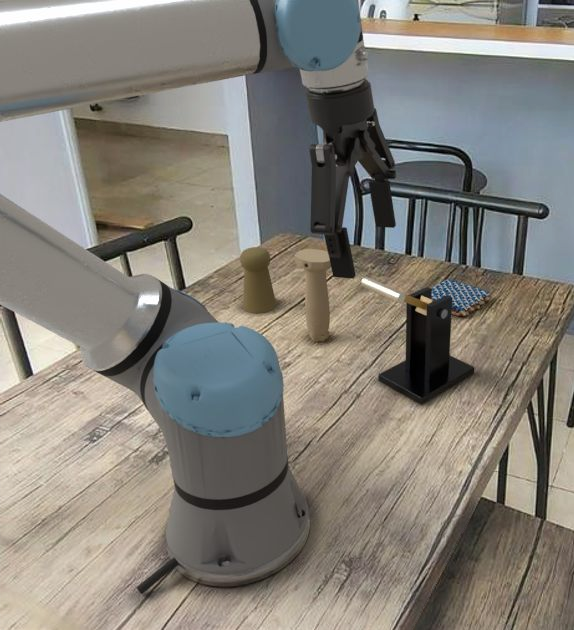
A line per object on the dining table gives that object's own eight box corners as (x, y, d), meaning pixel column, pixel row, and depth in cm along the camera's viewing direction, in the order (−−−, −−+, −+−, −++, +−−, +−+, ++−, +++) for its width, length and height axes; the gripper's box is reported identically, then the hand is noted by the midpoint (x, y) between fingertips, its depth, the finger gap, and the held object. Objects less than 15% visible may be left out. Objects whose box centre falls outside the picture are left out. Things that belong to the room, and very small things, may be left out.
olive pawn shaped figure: (283, 303, 125) (279, 248, 120) (260, 316, 121) (254, 258, 116) (259, 295, 128) (254, 241, 123) (235, 307, 124) (229, 251, 119)
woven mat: (493, 299, 129) (494, 290, 128) (463, 320, 121) (464, 310, 120) (447, 285, 134) (448, 276, 133) (416, 304, 127) (416, 294, 126)
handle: (327, 349, 111) (323, 264, 104) (294, 340, 114) (288, 256, 107) (343, 336, 115) (340, 254, 108) (311, 327, 118) (306, 246, 111)
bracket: (421, 405, 98) (423, 320, 91) (378, 380, 103) (377, 299, 97) (474, 373, 106) (479, 293, 99) (431, 352, 111) (434, 275, 105)
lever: (394, 305, 87) (402, 288, 87) (358, 288, 92) (365, 272, 92) (449, 325, 98) (455, 309, 98) (414, 309, 102) (420, 294, 102)
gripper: (316, 120, 66) (353, 304, 77) (406, 53, 85) (425, 209, 96) (250, 120, 68) (295, 298, 80) (352, 55, 87) (376, 207, 99)
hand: (366, 250), depth 88 cm, fingers open, 13 cm apart
